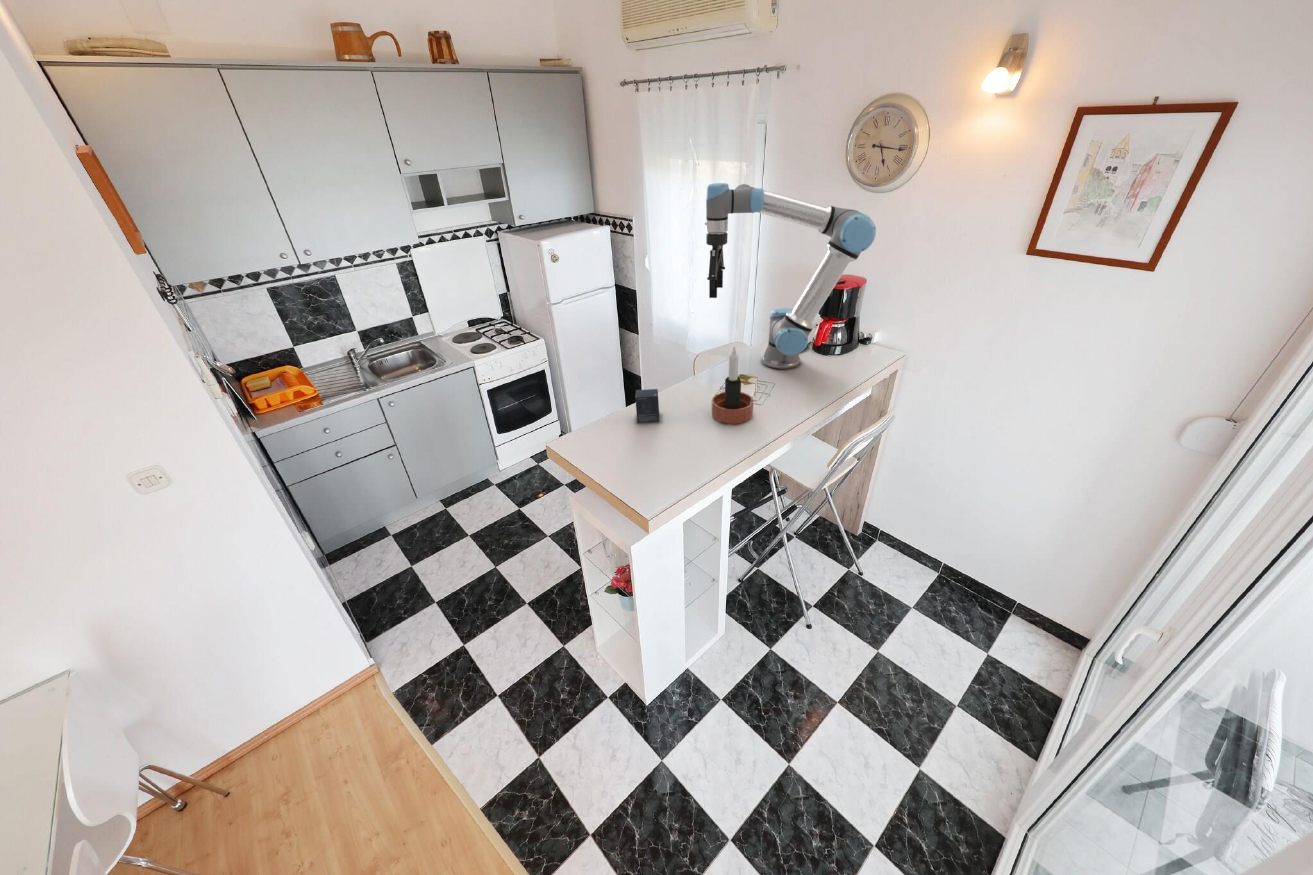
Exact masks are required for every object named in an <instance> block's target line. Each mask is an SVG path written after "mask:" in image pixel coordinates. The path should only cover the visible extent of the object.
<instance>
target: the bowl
mask: <svg viewBox="0 0 1313 875" xmlns="http://www.w3.org/2000/svg"><path fill="white" fill-rule="evenodd" d="M754 402H755V400H754V398H753V397H752V396H751V395H750V394H749V393H746V392H742V391H741V397H740V409H726V408H725V391H721V392H718V393H716V394H715V395H714V396H712V398H711V416H712V418H713V419H715V420H716V421H718V422H719V423H723V424H729V425H736V424H737V425H738V424H742V423H745V422H747V421H749V420H750V419H751V418H752V417H753V414H754Z"/></svg>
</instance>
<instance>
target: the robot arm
mask: <svg viewBox="0 0 1313 875" xmlns="http://www.w3.org/2000/svg"><path fill="white" fill-rule="evenodd" d="M705 195H706V197H705V209H706V210H705V212H706V214H705V216H706V217H705V218H706V222H704V226H705V227H706V228H705V230H706V232H707V233H706V234H705V236H706V237H705V243H706V245H708V246H711V249H710V251H709V263H708V264H709V266H708V277H707V278H706V280H707V281H709V282H708V283H709V284H708V286H709V287H708V289H709V290H708V291H709V292H708V293H709V294H708V297H709V299H717V298H718V289H723V288H724V286H723V285H724V283H723V282H724V270H726V266H725V262H724V246H725V245H727V244H728V234H729V233H728V231H729V214H731V215H733V214H754V213H755V214H756V213H759V214H761V215H762V214H763V215H766V216H769V217H772V218H776V219H779V220H783V221H787V222H789V223H790V222H791V223H794V224H798V225H801V226H805V227H808V228H812V229H815V230H817V231H818V233H819V234H822V235H825V236H828V237H829V238H830V239H829V241H828V242H827V244H826V246H827V252H826V254H825V256H824V257H823V259H822V261H821V263H820V264H819V266H818V267H817V269H816V271H815V272H814V274H813V276H812V277H811V279H810V281H809V283H808V284H807V285H806V288H805V289H804V291H803V293H801V296H800V298H799V300H798V301H797V302H796V304H795V306H794V307H793V308H790V307H787V308H786V307H783V308H775V309H773V310H771V311H770V315H769V328H768V329H769V331H768V342H767V347H766V349H765V351H764V353H763V356H762V364H764V366H766V367H768V368H771V369H776V370H790V369H794V368H796V367H798V366H799V365H800V360H801V359H800V356H799V354H800V353H802V352H804V351H806V350H807V349H808V348H809V345H810V344H812V343H813V342H811V341H809V338H808V337H809V336H810V334H811V332H812V331H813V330H814V322H813V321H814V320H815V318H816V317H817V315H818V314H819V312H820V310H821V309H822V307H823V306H824V304H825V303H826V301H827V299H828V297H829V296H830V295H831V293H832V291H833V290H834V288H835V287H836V285H837V283H838V282H839V280H840V278H841V277H842V275H843V274H844V272H845V270H846V269H847V267H848V266H849V264H850V263H852V262H854V261H855V262H856V261H857V260H858V259H859V257H860V255H861V253H862V252H864V251H867V249H869V248H870V247H871V246H872V244H873V243H874V242H875V238H876V234H877V227H876V224H875V223H874V221H873V219H871V217H870V216H868V215H867V214H865V213H862V212H860V211H859V210H856V209H852V208H843V207H839V206H833V205H827V206H822V205H818V204H814V203H810V202H807V201H804V200H801V199H797V198H793V197H790V196H786V195H782V194H780V193H775V192H772V191H768V190H764V189H763V188H758V187H753V186H750V185H748V184H746V183H742V184H739V185H738V186H736V187H735V188H734V189H731V188H730V187H729V184H728V183H727V182H716V183H715V182H714V183H710V184H708V185H707V187H706V194H705Z"/></svg>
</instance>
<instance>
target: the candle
mask: <svg viewBox="0 0 1313 875" xmlns="http://www.w3.org/2000/svg"><path fill="white" fill-rule="evenodd" d="M736 350H737V349H736V346H732V351H731V354H729V359H728V360H729V363H728V376H727V377H726V378H724V382H725V383H724V392H725V408H726V409H740V397H741V392H742V380H741V378H740V377H739V376H738V374H739V355H738V353H737V351H736Z"/></svg>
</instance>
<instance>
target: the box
mask: <svg viewBox="0 0 1313 875" xmlns="http://www.w3.org/2000/svg"><path fill="white" fill-rule="evenodd" d="M634 400H635V410H636V421H637V424H643V423H644V424H646V423H660V404H659V403H660V402H659V389H658V388H649V389H636V390H635V396H634Z"/></svg>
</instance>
